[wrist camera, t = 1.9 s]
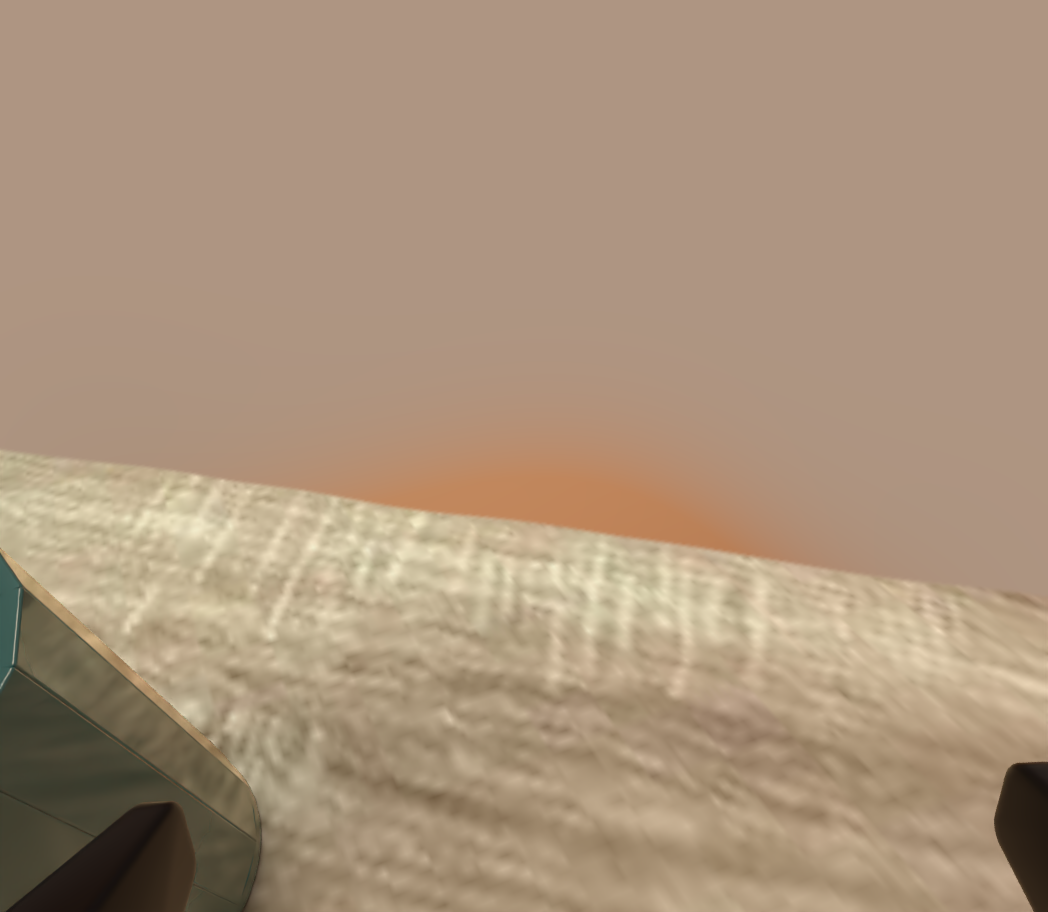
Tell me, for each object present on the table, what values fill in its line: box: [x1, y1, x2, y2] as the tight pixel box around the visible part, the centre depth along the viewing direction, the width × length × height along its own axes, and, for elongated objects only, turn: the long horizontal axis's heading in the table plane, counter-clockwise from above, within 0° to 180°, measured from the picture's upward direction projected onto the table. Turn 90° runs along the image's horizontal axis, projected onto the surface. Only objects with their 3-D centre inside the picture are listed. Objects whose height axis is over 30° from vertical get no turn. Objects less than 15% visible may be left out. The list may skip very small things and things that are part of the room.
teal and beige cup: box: [0, 548, 261, 912], centre depth 15 cm, size 7×7×12 cm
